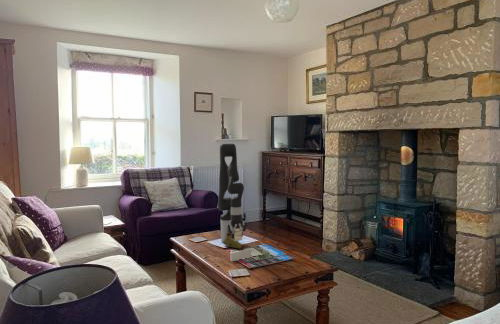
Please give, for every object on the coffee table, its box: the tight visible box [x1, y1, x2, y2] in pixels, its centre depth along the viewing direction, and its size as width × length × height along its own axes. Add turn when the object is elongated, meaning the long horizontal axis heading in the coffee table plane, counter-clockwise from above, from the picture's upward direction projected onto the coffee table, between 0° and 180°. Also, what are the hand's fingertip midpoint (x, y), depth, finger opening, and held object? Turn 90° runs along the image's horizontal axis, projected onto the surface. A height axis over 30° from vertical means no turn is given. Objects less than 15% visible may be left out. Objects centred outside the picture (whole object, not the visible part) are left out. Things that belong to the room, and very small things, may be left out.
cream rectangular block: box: [229, 248, 252, 262], centre depth 228 cm, size 2×14×6 cm, turn 114°
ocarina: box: [222, 233, 245, 250], centre depth 251 cm, size 20×5×10 cm, turn 50°
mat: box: [243, 247, 264, 257], centre depth 240 cm, size 16×7×1 cm, turn 24°
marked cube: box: [233, 228, 243, 242], centre depth 235 cm, size 5×5×6 cm
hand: (237, 238), depth 235 cm, fingers closed on marked cube, 5 cm apart
